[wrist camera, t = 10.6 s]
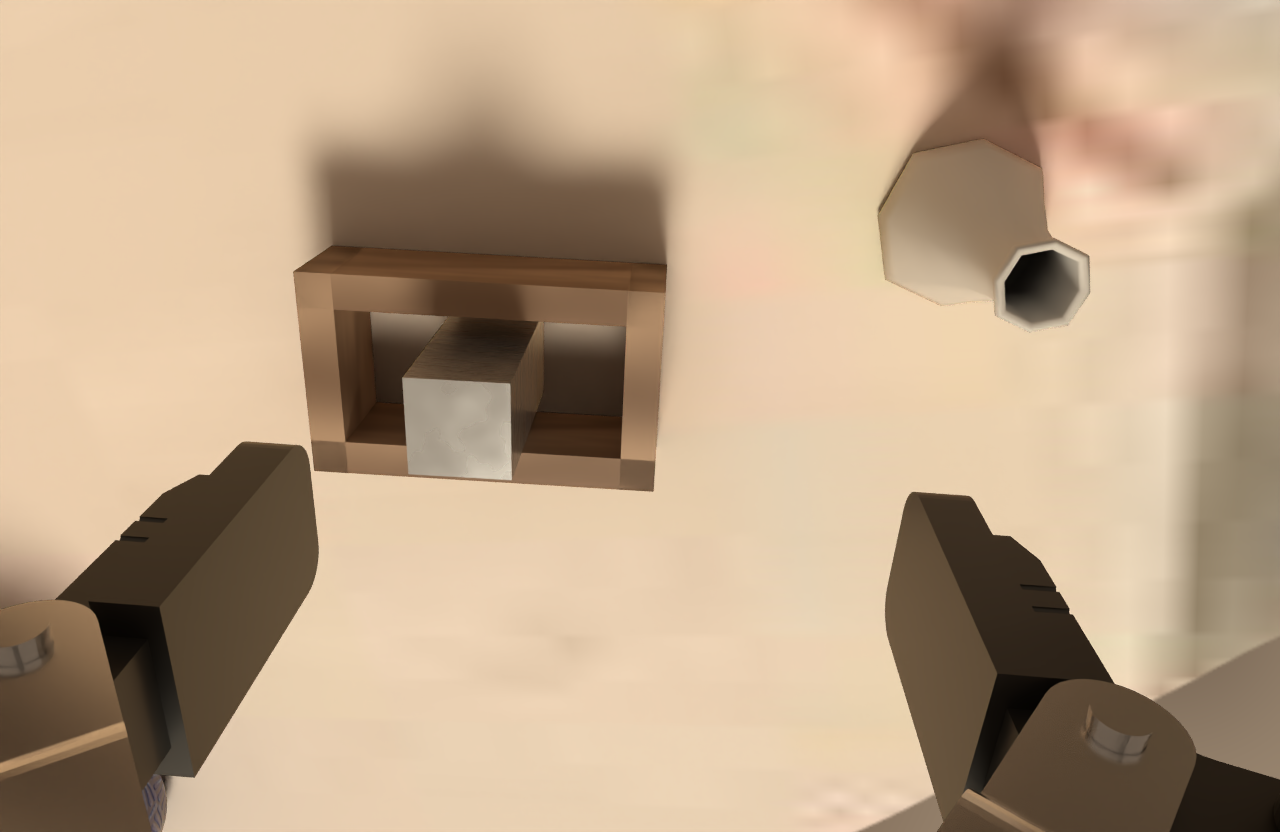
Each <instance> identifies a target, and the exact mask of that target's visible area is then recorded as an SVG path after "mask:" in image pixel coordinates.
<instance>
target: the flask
mask: <svg viewBox="0 0 1280 832" xmlns="http://www.w3.org/2000/svg"><path fill="white" fill-rule="evenodd" d="M878 222H879V231H880V239H881V248H882V257H883V265H884V274H885V280H887V281H890V282H892V283H894V284H896V285H898V286H900V287H902V288H904V289H906V290H908V291H911V292H913V293H915V294H917V295H919V296H921V297H923V298H925V299H927V300H929V301H932V302H934V303H936V304H938V305H940V306H950V305H956V304H963V303H970V302H988V301H994V312H995V316H997V317H998V318H1000V319H1002V320H1004V321H1006V322H1008V323H1011V324H1013V325H1015V326H1017V327H1019V328H1021V329H1023V330H1025V331H1027V332H1029V333H1030V332H1035V331H1041V330H1046V329H1051V328H1057V327H1062V326H1068V324H1069V323H1070V321H1071V320H1072V319H1073V317H1074V316H1075V314H1076V313H1077V311H1078V310H1079V308H1080V307H1081V305H1082V304H1083V303H1084V301H1085V300H1086V298H1087V297H1088V295H1089V294H1090V266H1089V256H1088V255H1087V254H1085V253H1083V252H1081V251H1079V250H1077V249H1075V248H1073V247H1071V246H1069V245H1067V244H1065V243H1063V242H1061V241H1059V240H1057V239H1055V238H1052V236H1051V235H1050V233H1049V231H1048V229H1047V221H1046V213H1045V206H1044V187H1043V172H1042V168H1040V167H1038V166H1036V165H1034V164H1032V163H1030V162H1029V161H1027V160H1025V159H1023V158H1021V157H1019V156H1017V155H1015V154H1013V153H1011V152H1009V151H1007V150H1005V149H1003V148H1001V147H999V146H997V145H995V144H993V143H991V142H989V141H987V140H985V139H978V140H973V141H969V142H964V143H959V144H955V145H950V146H945V147H940V148H936V149H931V150H926V151H921V152H917V153H913V154H912V156H911V158H910V160H909V161H908V163H907V165H906V167H905V168H904V170H903V172H902V174H901V175H900V177H899V179H898V181H897V183H896V184H895V186H894V188H893V190H892V191H891V193H890V195H889V197H888V198H887V200H886V202H885V204H884V205H883V207H882V209H881V211H880V213H879V214H878Z"/></svg>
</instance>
